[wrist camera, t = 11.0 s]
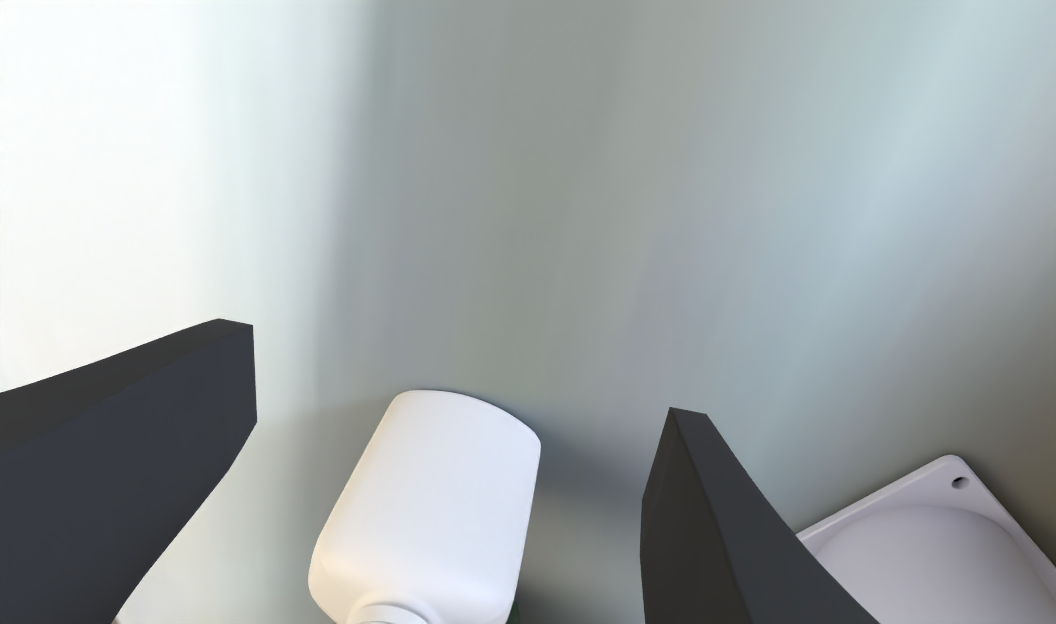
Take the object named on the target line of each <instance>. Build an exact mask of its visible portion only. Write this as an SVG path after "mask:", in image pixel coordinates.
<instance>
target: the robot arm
mask: <svg viewBox="0 0 1056 624" xmlns="http://www.w3.org/2000/svg"><path fill="white" fill-rule="evenodd" d="M256 423H257V409H256V386H255V363H254V340H253V325H250V324H245V323H240V322H235V321H230V320H224V319H215V320H211V321H207V322H204V323H201V324H198V325H195V326H192V327H189V328H186V329H183V330H181V331H178V332H175V333H172V334H170V335H167V336H164V337H162V338H159V339H156V340H154V341H151V342H148V343H146V344H143V345H140V346H137V347H135V348H132V349H129V350H127V351H124V352H121V353H119V354H116V355H113V356H110V357H108V358H105V359H102V360H100V361H97V362H94V363H91V364H88V365H85V366H82V367H79V368H76V369H73V370H70V371H67V372H64V373H61V374H58V375H55V376H52V377H49V378H46V379H43V380H40V381H37V382H34V383H31V384H28V385H25V386H22V387H18V388H15V389H12V390H8V391H5V392H1V393H0V624H111V623H112V621H113V620H114V618H115V617H116V615H117V614H118V612H119V611H120V609H121V608H122V606H123V604H124V603H125V601H126V600H127V599H128V597H129V596H130V595H131V593H132V592H133V590H134V589H135V588H136V586H137V585H138V584H139V582H140V581H141V580H142V578H143V577H144V576H145V574H146V573H147V572H148V571H149V569H150V568H151V567H152V566H153V564H154V563H155V562H156V561H157V559H158V558H159V557H160V556H161V554H162V553H163V552H164V551H165V549H166V548H167V547H168V546H169V544H170V543H171V542H172V541H173V539H174V538H175V537H176V536H177V535H178V533H179V532H180V531H181V530H182V528H183V527H184V526H185V525H186V523H187V522H188V521H189V520H190V518H191V517H192V516H193V515H194V513H195V512H196V511H197V510H198V508H199V507H200V506H201V505H202V503H203V502H204V501H205V500H206V498H207V497H208V496H209V495H210V493H211V492H212V491H213V489H214V488H215V487H216V486H217V484H218V483H219V482H220V481H221V479H222V478H223V477H224V475H225V474H226V473H227V471H228V470H229V469H230V467H231V465H232V464H233V462H234V461H235V459H236V457H237V456H238V454H239V452H240V451H241V449H242V447H243V446H244V444H245V442H246V440H247V439H248V437H249V435H250V433H251V432H252V430H253V428H254V426H255V425H256ZM959 477H963V478H962V479H961V480H959V481H956V482H954V481H953V480H955V479H956V478H959ZM640 564H641V577H642V589H643V601H644V613H645V624H1056V567H1055V566H1054V565H1053V563H1052V562H1051V561H1050V560H1049V559H1048V558H1047V557H1046V555H1045V554H1044V553H1043V552H1042V551H1041V550H1040V548H1039V547H1038V546H1037V545H1036V544H1035V543H1034V542H1033V540H1032V539H1031V538H1030V537H1029V536H1028V535H1027V533H1026V532H1025V531H1024V530H1023V529H1022V528H1021V527H1020V525H1019V524H1018V523H1017V522H1016V521H1015V520H1014V518H1013V517H1012V516H1011V515H1010V514H1009V513H1008V512H1007V510H1006V509H1005V508H1004V507H1003V506H1002V505H1001V503H1000V502H999V501H998V500H997V499H996V498H995V497H994V495H993V494H992V493H991V492H990V491H989V490H988V488H987V487H986V486H985V485H984V484H983V483H982V482H981V480H980V479H979V478H978V477H977V476H976V475H975V473H974V472H973V471H972V470H971V469H970V468H969V467H968V465H967V464H966V463H965V462H964V461H963V460H962V459H961V458H960V457H958V456H955V455H945V456H943V457H940V458H938V459H936V460H934V461H932V462H930V463H928V464H927V465H925V466H923V467H921V468H919V469H917V470H915V471H913V472H912V473H910V474H908V475H906V476H904V477H902V478H900V479H898V480H897V481H895V482H893V483H891V484H889V485H887V486H885V487H883V488H882V489H880V490H878V491H876V492H874V493H872V494H870V495H868V496H867V497H865V498H863V499H861V500H859V501H857V502H855V503H853V504H852V505H850V506H848V507H846V508H844V509H842V510H840V511H838V512H837V513H835V514H833V515H831V516H829V517H827V518H825V519H823V520H821V521H820V522H818V523H816V524H814V525H812V526H810V527H808V528H806V529H805V530H803V531H801V532H799V533H797V534H794V533H793V532H792V530H791V529H790V528H789V527H788V526H787V524H786V523H785V522H784V521H783V520H782V518H781V517H780V516H779V515H778V513H777V512H776V511H775V510H774V508H773V507H772V506H771V505H770V503H769V502H768V501H767V499H766V498H765V497H764V495H763V494H762V493H761V491H760V490H759V489H758V487H757V486H756V485H755V483H754V482H753V481H752V479H751V478H750V476H749V475H748V474H747V472H746V471H745V469H744V468H743V467H742V465H741V464H740V462H739V461H738V459H737V458H736V457H735V455H734V454H733V452H732V451H731V449H730V448H729V446H728V445H727V444H726V442H725V441H724V439H723V438H722V436H721V435H720V433H719V432H718V430H717V429H716V427H715V426H714V424H713V423H712V421H711V420H710V419H709V417H708V416H707V414H703V413H698V412H693V411H688V410H683V409H678V408H672V407H670V408H669V411H668V415H667V418H666V421H665V425H664V428H663V431H662V435H661V438H660V442H659V445H658V448H657V452H656V455H655V458H654V462H653V465H652V468H651V472H650V475H649V479H648V482H647V485H646V489H645V492H644V495H643V499H642V512H641V534H640Z"/></svg>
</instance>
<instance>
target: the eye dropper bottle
mask: <svg viewBox="0 0 1056 624" xmlns="http://www.w3.org/2000/svg"><path fill="white" fill-rule="evenodd" d="M540 453H541V444H540V441H539V439H538V437H537V436H536V434H535V433H534V432H533V431H532V430H531V429H530V428H529V427H528V426H526V425H525V424H524V423H522V422H521V421H519V420H518V419H516V418H515V417H513V416H512V415H510V414H509V413H507V412H505V411H503V410H501V409H500V408H498V407H495V406H493V405H491V404H489V403H486V402H484V401H481V400H479V399H476V398H472V397H469V396H465V395H461V394H457V393H452V392H445V391H435V390H412V391H406V392H404V393H401V394H399V395H397V396H396V397H395V398H394V400H393V401H392V402H391V404H390V406H389V407H388V409H387V411H386V413H385V415H384V416H383V418H382V420H381V422H380V424H379V425H378V427H377V429H376V431H375V433H374V435H373V436H372V438H371V440H370V442H369V444H368V446H367V447H366V449H365V451H364V453H363V455H362V457H361V458H360V460H359V462H358V464H357V466H356V468H355V469H354V471H353V473H352V475H351V477H350V479H349V481H348V482H347V484H346V486H345V488H344V490H343V492H342V494H341V495H340V497H339V499H338V501H337V503H336V505H335V506H334V508H333V510H332V512H331V514H330V516H329V518H328V520H327V522H326V524H325V526H324V528H323V530H322V532H321V534H320V536H319V538H318V541H317V543H316V546H315V549H314V552H313V556H312V560H311V565H310V570H309V576H308V585H309V589H310V593H311V595H312V597H313V599H314V600H315V601H316V603H317V604H318V605H319V607H320V608H321V609H322V610H323V611H324V612H325V613H326V614H327V615H328V616H329V617H330V618H331V619H333V620H334V621H335V622H336V623H337V624H505V623H506V621H507V619H508V616H509V613H510V610H511V607H512V604H513V601H514V596H515V592H516V587H517V582H518V577H519V572H520V567H521V561H522V556H523V550H524V545H525V539H526V533H527V528H528V522H529V517H530V511H531V506H532V500H533V494H534V489H535V483H536V477H537V471H538V466H539V460H540Z"/></svg>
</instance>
